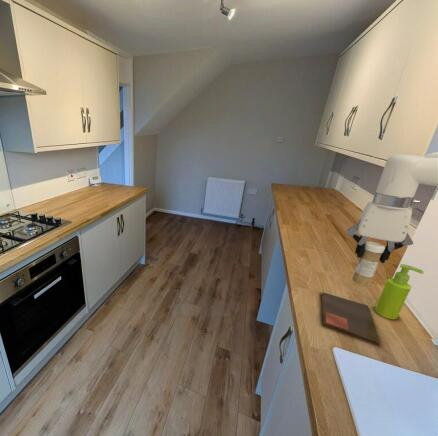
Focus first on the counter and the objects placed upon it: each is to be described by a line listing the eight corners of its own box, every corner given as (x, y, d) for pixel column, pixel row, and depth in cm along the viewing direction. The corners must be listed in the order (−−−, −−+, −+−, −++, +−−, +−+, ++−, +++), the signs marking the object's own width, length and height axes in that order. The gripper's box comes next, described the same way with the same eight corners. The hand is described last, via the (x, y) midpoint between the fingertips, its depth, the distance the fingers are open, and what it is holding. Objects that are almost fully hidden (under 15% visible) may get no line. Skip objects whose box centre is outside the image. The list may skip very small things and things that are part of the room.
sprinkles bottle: (355, 276, 78) (368, 239, 73) (372, 283, 74) (388, 245, 69) (348, 280, 76) (362, 242, 71) (366, 288, 72) (382, 248, 67)
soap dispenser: (399, 323, 82) (423, 274, 75) (373, 312, 87) (393, 265, 80) (402, 315, 85) (425, 267, 78) (376, 305, 90) (395, 259, 83)
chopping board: (321, 294, 96) (322, 291, 96) (367, 308, 89) (368, 305, 88) (323, 325, 80) (324, 322, 80) (378, 345, 73) (379, 342, 73)
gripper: (431, 202, 64) (405, 261, 70) (351, 193, 73) (334, 246, 79) (442, 209, 58) (412, 273, 65) (353, 198, 67) (335, 255, 73)
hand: (369, 257), depth 72 cm, fingers closed on sprinkles bottle, 4 cm apart
